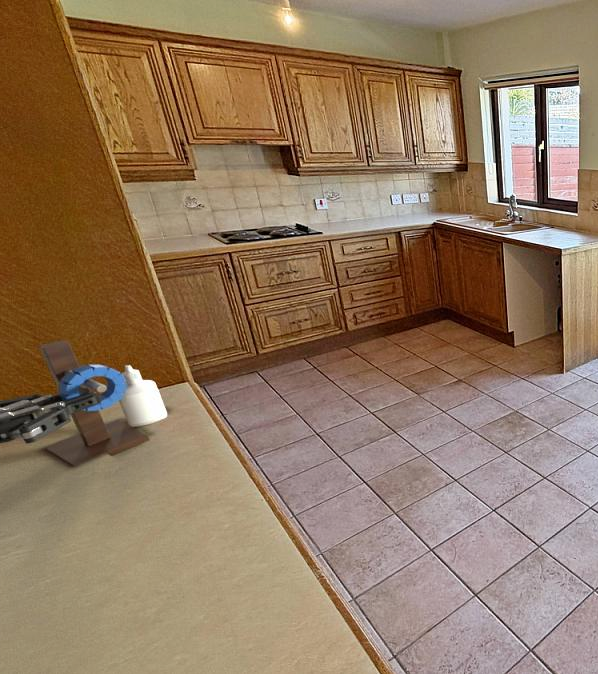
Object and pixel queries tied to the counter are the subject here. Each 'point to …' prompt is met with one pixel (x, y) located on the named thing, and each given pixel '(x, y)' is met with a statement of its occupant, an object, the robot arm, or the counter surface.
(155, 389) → the eye dropper bottle
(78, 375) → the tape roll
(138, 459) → the counter surface
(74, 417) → the hook stand
